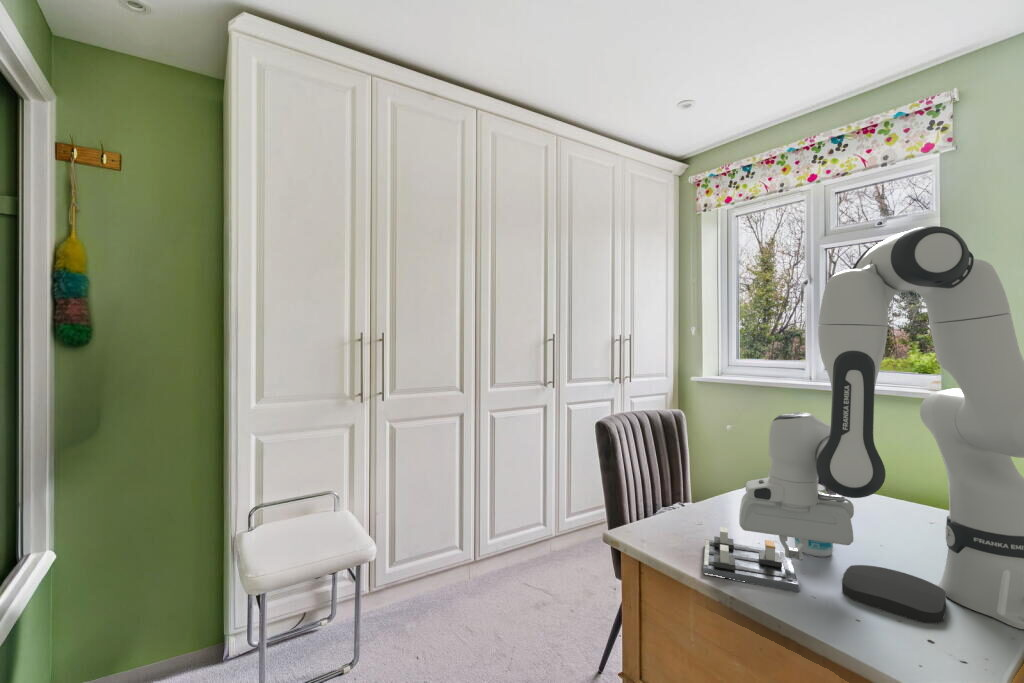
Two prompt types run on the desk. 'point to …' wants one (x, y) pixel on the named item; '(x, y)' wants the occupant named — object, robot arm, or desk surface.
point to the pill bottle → (817, 546)
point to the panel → (752, 567)
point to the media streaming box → (895, 593)
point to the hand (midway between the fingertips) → (793, 557)
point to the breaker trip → (770, 555)
